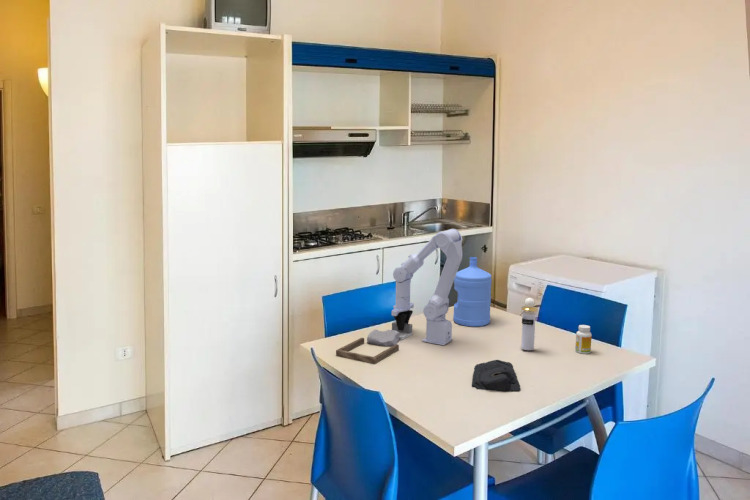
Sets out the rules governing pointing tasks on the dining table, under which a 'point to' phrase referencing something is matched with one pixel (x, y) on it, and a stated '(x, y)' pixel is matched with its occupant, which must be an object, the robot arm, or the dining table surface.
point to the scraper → (405, 332)
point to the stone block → (383, 337)
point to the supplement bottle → (583, 339)
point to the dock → (344, 353)
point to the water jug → (472, 296)
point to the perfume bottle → (528, 324)
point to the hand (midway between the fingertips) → (402, 329)
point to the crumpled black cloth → (495, 376)
